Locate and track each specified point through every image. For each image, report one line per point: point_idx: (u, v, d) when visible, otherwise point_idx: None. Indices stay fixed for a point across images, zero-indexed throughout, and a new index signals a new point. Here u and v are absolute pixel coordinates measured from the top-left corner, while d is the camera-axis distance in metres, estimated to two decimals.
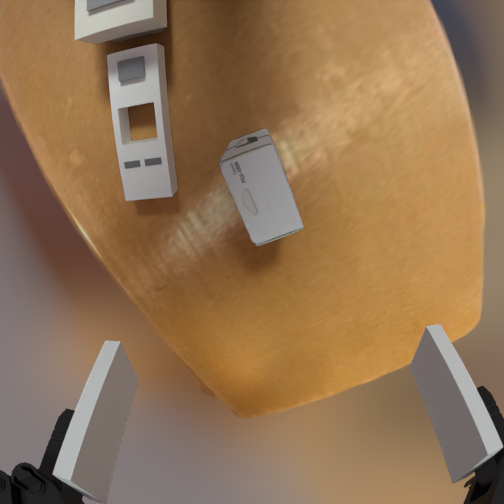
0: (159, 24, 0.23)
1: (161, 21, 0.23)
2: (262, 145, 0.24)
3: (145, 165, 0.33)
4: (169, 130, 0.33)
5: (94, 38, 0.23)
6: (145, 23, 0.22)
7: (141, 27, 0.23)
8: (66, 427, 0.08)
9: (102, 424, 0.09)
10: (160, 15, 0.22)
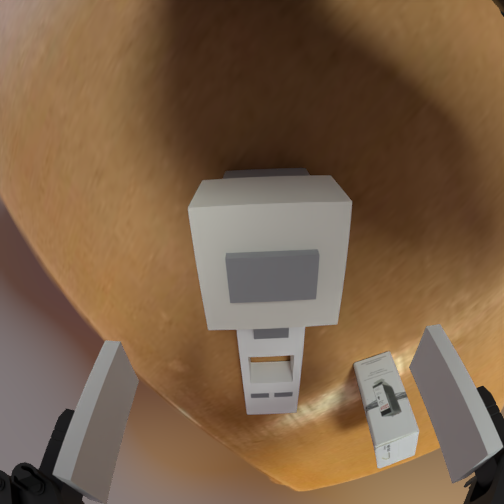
0: None
1: None
2: (411, 432, 0.23)
3: (274, 396, 0.32)
4: None
5: None
6: None
7: None
8: (66, 427, 0.08)
9: (102, 424, 0.09)
10: None
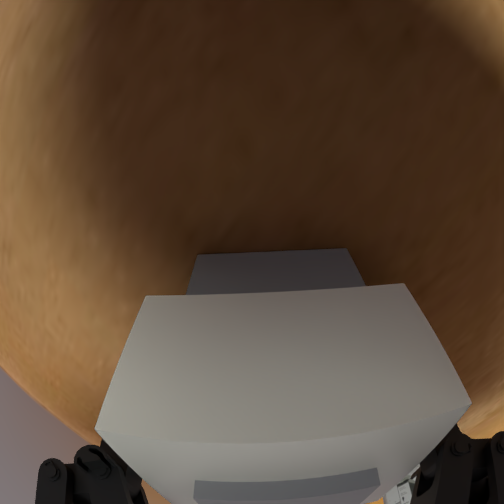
0: None
1: None
2: None
3: None
4: None
5: None
6: None
7: None
8: None
9: None
10: None
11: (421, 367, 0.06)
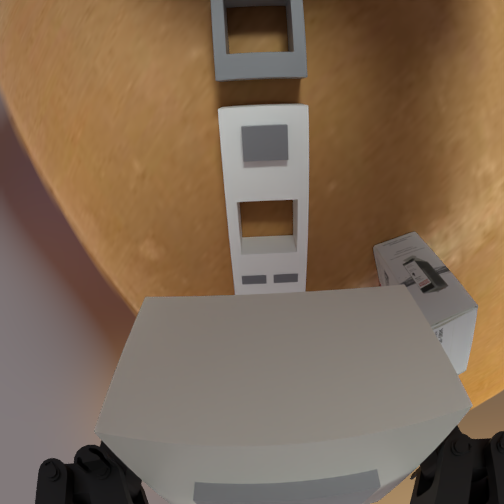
0: None
1: None
2: (468, 308, 0.17)
3: (273, 282, 0.26)
4: None
5: None
6: None
7: None
8: None
9: None
10: None
11: (421, 369, 0.06)
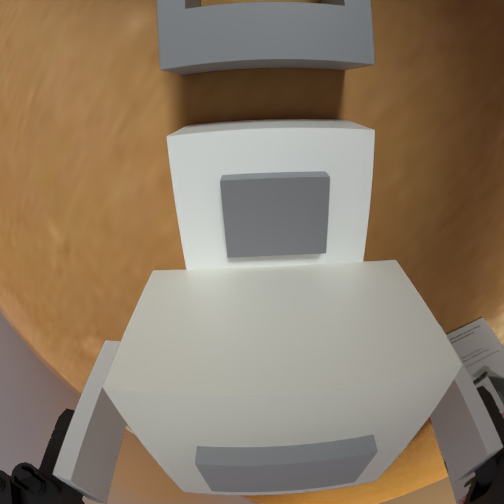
0: None
1: None
2: None
3: None
4: None
5: None
6: None
7: None
8: (66, 427, 0.08)
9: (102, 424, 0.09)
10: None
11: (412, 331, 0.07)
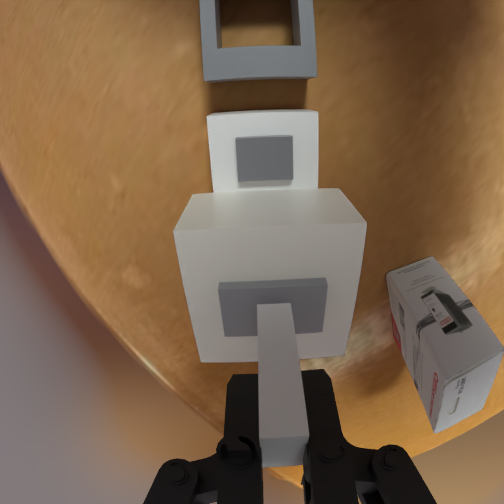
0: None
1: None
2: (495, 352, 0.13)
3: None
4: None
5: None
6: None
7: None
8: (241, 392, 0.10)
9: None
10: None
11: (339, 210, 0.14)
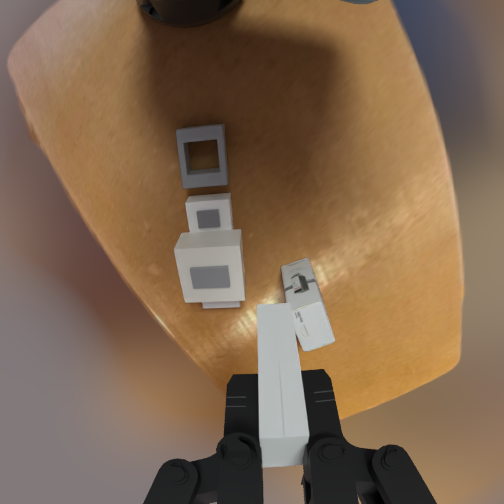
0: None
1: None
2: (315, 301, 0.39)
3: None
4: None
5: None
6: None
7: None
8: (241, 392, 0.10)
9: None
10: None
11: (232, 240, 0.40)
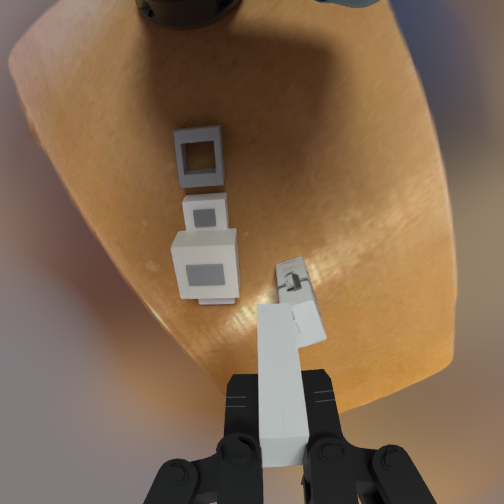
0: None
1: None
2: (306, 300, 0.40)
3: None
4: None
5: None
6: None
7: None
8: (241, 392, 0.10)
9: None
10: (239, 282, 0.46)
11: (228, 239, 0.41)
